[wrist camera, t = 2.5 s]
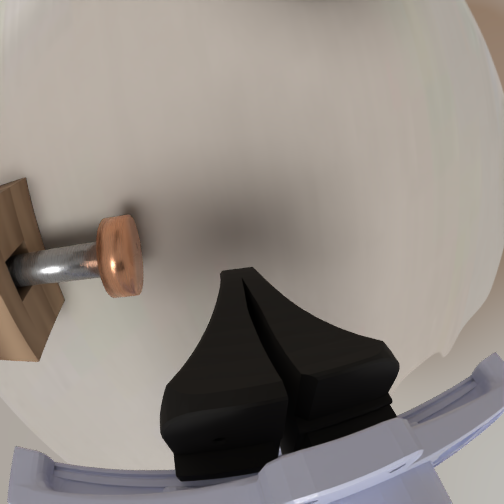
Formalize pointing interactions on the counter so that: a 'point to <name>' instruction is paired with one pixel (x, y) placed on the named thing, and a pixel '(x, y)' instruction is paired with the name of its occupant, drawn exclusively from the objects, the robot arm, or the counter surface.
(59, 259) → the copper capped shaft
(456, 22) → the counter surface
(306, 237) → the counter surface
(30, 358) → the bearing block
